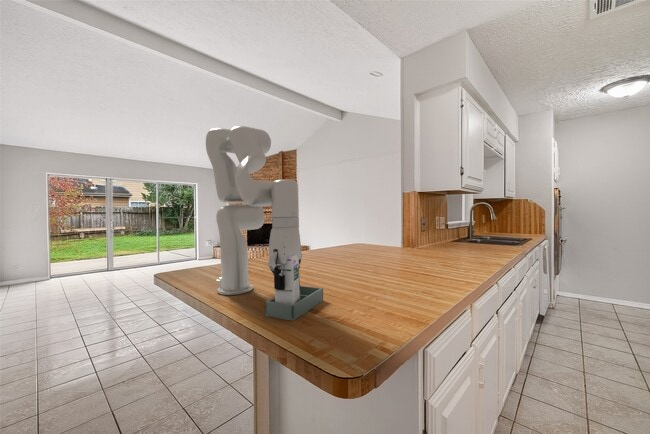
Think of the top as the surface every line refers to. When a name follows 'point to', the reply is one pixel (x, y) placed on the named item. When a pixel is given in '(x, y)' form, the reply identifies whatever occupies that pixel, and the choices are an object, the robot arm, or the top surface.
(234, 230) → the robot arm
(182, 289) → the top surface
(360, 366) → the top surface
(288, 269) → the syrup box
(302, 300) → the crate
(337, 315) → the top surface
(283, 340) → the top surface
